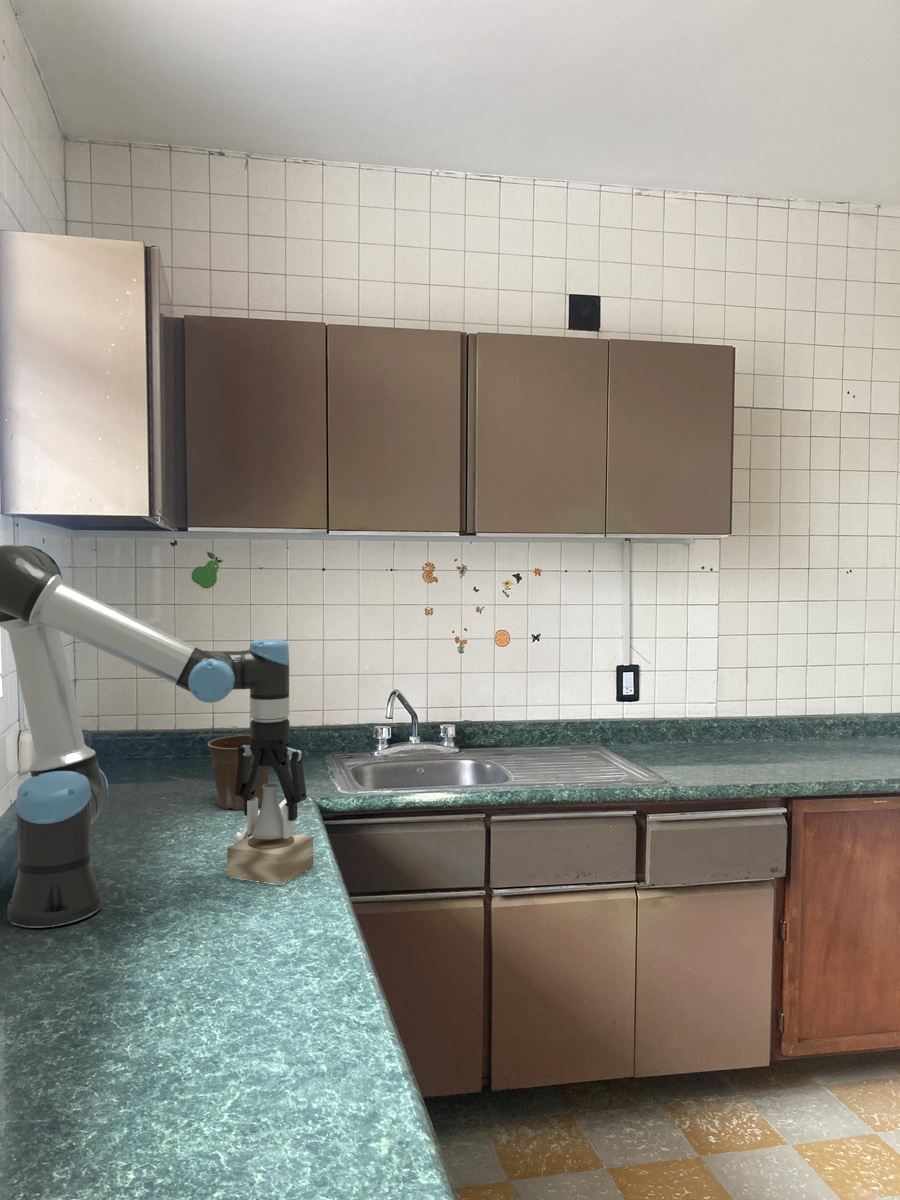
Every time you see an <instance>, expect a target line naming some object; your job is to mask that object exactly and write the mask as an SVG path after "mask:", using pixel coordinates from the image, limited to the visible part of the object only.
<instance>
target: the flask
mask: <svg viewBox="0 0 900 1200" xmlns="http://www.w3.org/2000/svg"><path fill="white" fill-rule="evenodd" d="M262 788H263V801H262V806H260V809H259V810H260V812H259V815H258V818H257V821H256V824H255V827H254V830H253V833H252V834H251V835H252V836H253V837H255V838H256V839H277V838H283V815H282V812H281V809H280V806H279V804H280V803H279V797H278V788H279V784H278V783H275V782H273V783H272V782H268V784H263V785H262Z"/></svg>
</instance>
